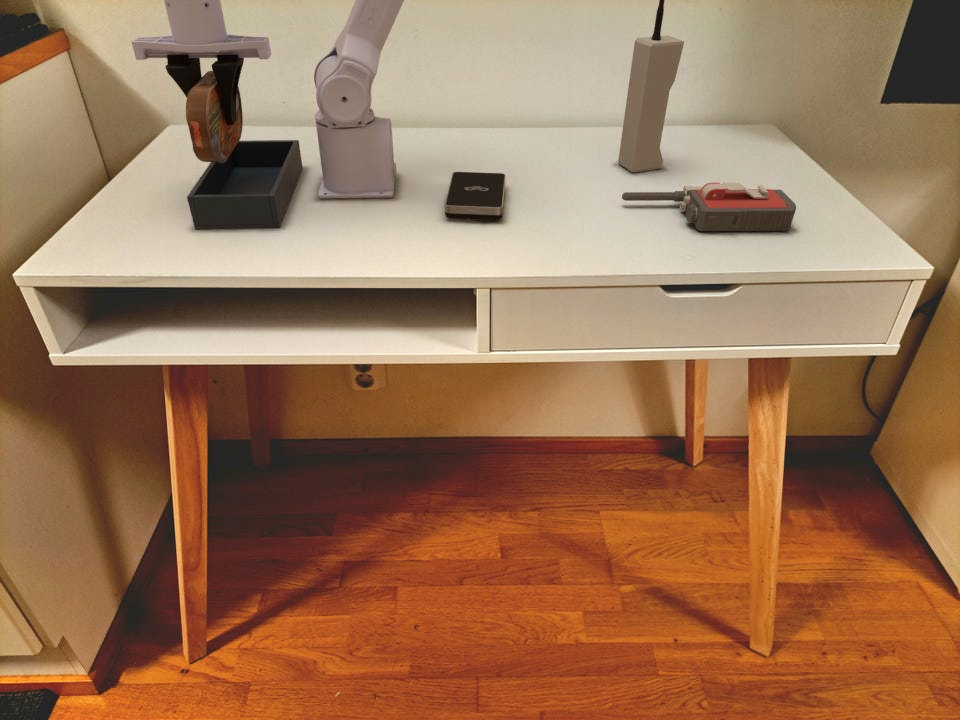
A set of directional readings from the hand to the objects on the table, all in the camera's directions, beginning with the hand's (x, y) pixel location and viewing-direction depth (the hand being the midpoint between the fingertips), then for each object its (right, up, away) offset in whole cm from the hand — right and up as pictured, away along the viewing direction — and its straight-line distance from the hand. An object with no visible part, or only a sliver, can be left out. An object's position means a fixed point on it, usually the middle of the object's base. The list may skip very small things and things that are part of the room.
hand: (218, 122), depth 81 cm
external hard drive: (+31, -9, +5) cm, 32 cm away
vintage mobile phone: (+54, -1, +16) cm, 56 cm away
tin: (-1, -3, +2) cm, 3 cm away
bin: (+2, -7, +6) cm, 10 cm away
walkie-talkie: (+59, -11, +2) cm, 60 cm away
